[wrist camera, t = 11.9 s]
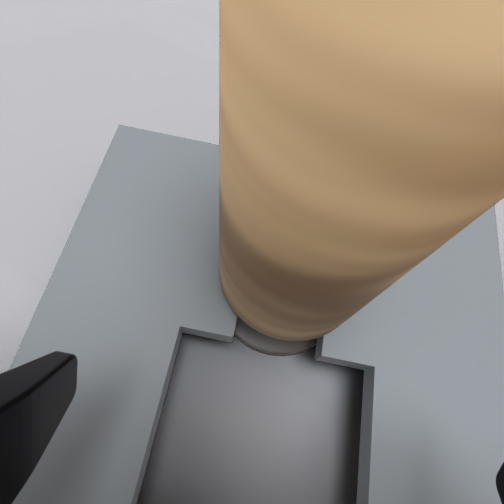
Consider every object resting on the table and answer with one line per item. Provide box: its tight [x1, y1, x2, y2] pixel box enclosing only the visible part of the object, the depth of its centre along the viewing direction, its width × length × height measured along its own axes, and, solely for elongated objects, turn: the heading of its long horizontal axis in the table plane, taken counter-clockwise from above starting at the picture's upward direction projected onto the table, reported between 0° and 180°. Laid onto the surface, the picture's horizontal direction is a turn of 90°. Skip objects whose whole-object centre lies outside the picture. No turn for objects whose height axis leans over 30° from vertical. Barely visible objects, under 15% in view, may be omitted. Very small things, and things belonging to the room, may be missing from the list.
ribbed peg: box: [219, 0, 504, 356], centre depth 9 cm, size 5×5×14 cm
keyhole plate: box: [9, 125, 504, 504], centre depth 13 cm, size 19×16×2 cm
